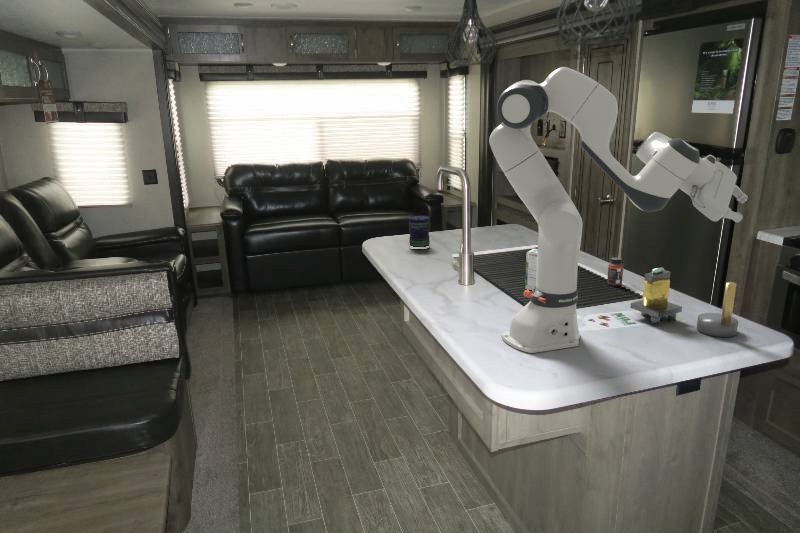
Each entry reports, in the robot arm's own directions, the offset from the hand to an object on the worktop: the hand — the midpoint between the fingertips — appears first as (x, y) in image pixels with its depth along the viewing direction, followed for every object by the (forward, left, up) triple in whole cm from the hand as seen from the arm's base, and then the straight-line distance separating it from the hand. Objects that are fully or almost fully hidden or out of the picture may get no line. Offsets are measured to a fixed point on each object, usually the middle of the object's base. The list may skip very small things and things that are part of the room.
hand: (743, 209), depth 137 cm
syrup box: (-13, +63, -37) cm, 74 cm away
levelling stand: (-1, +22, -37) cm, 42 cm away
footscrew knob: (+6, +7, -37) cm, 38 cm away
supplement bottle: (+15, +53, -37) cm, 66 cm away
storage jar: (-19, +142, -37) cm, 148 cm away
